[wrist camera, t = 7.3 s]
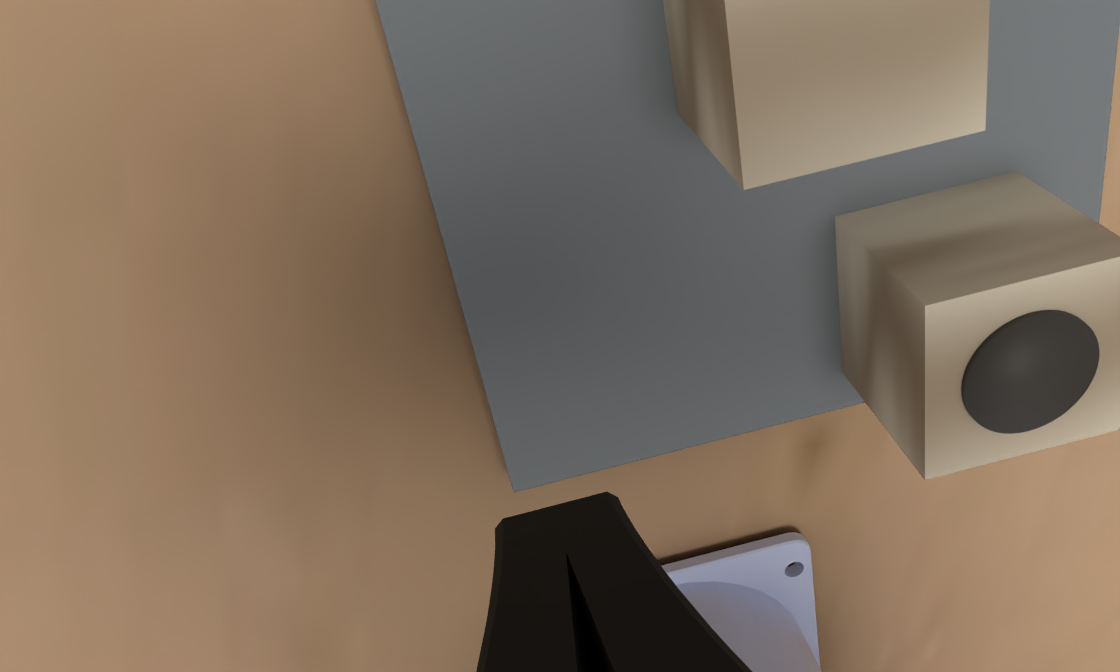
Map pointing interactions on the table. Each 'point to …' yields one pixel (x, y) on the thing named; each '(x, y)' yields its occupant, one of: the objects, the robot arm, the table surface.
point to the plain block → (825, 79)
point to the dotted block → (981, 321)
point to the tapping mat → (679, 217)
